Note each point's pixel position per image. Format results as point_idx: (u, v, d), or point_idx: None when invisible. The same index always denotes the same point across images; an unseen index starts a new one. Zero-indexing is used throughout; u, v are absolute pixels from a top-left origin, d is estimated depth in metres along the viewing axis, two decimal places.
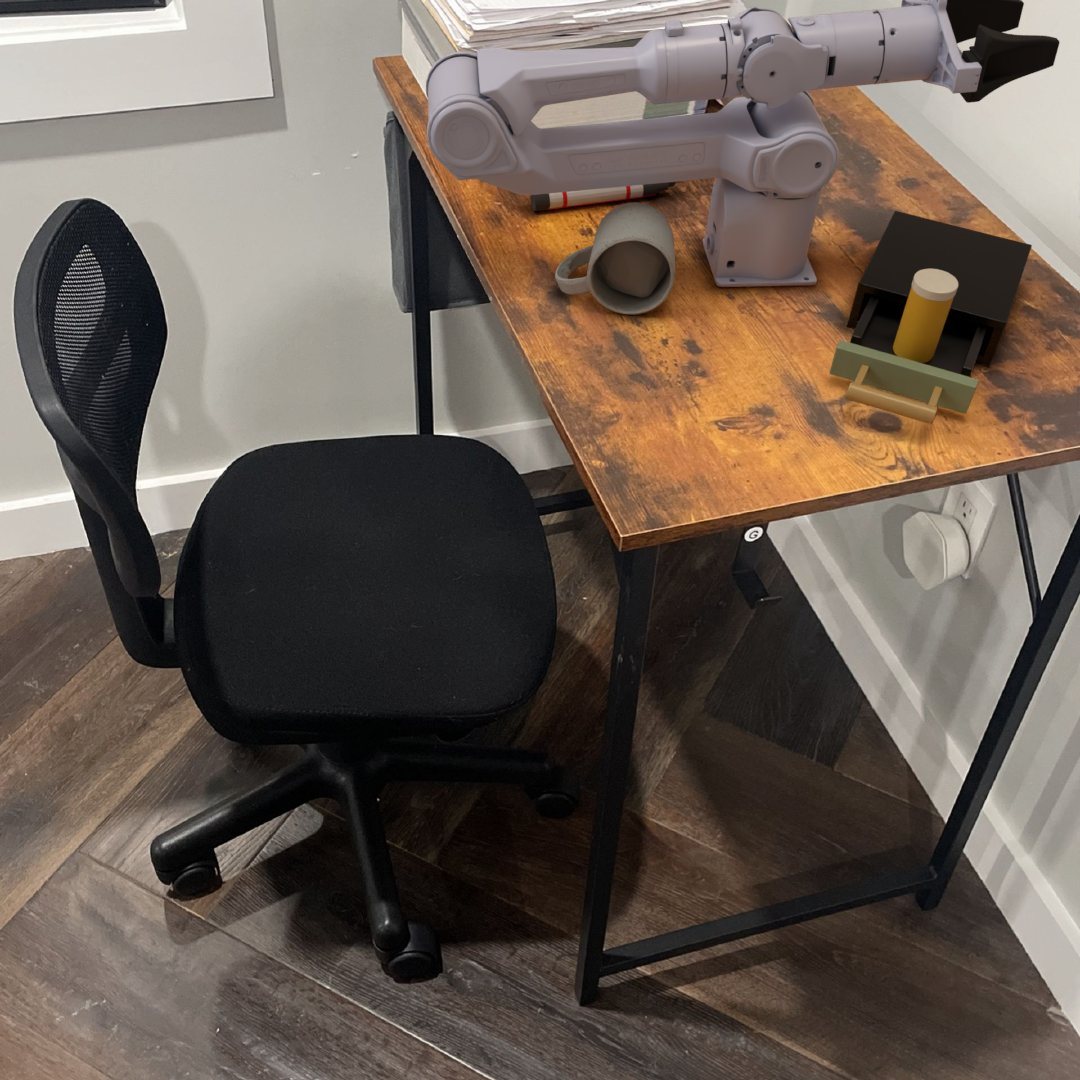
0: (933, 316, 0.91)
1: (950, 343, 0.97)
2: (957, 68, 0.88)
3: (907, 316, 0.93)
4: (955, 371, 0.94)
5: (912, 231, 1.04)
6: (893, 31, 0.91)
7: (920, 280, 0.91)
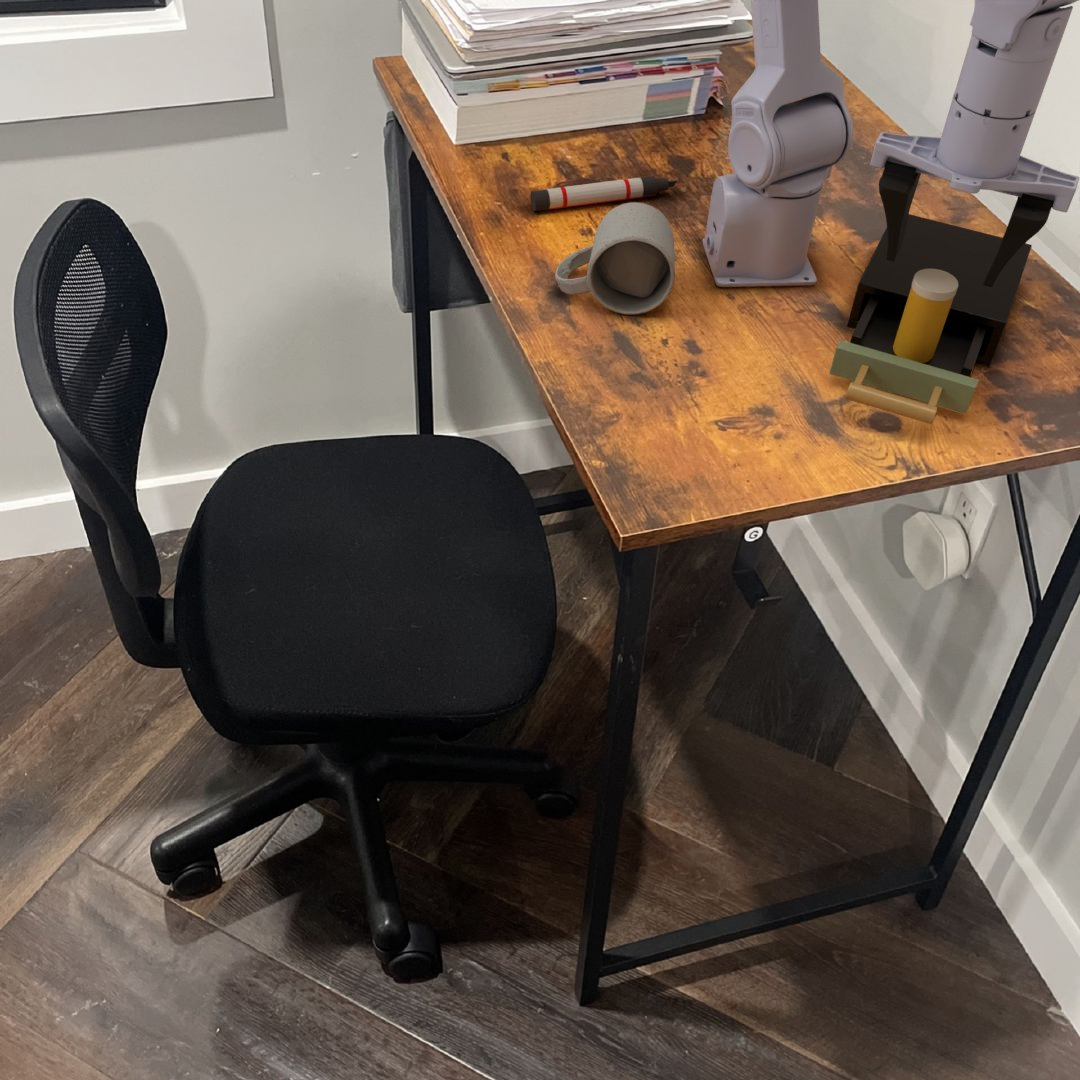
0: (933, 316, 0.91)
1: (950, 343, 0.97)
2: (878, 142, 0.85)
3: (907, 316, 0.93)
4: (955, 371, 0.94)
5: (912, 231, 1.04)
6: (961, 117, 0.80)
7: (920, 280, 0.91)
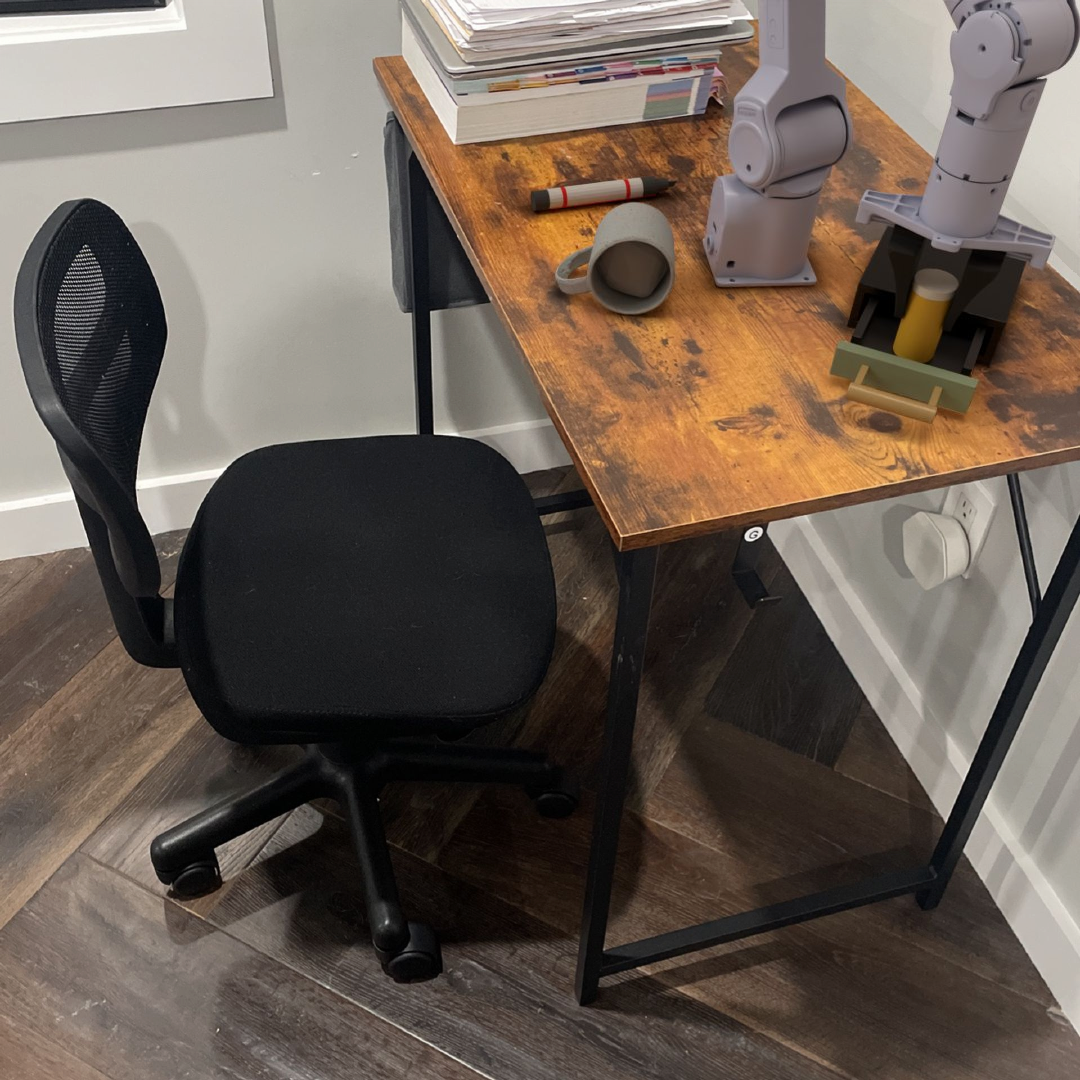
0: (934, 316, 0.91)
1: (950, 343, 0.97)
2: (863, 200, 0.88)
3: (907, 316, 0.93)
4: (955, 371, 0.94)
5: None
6: None
7: (920, 280, 0.91)
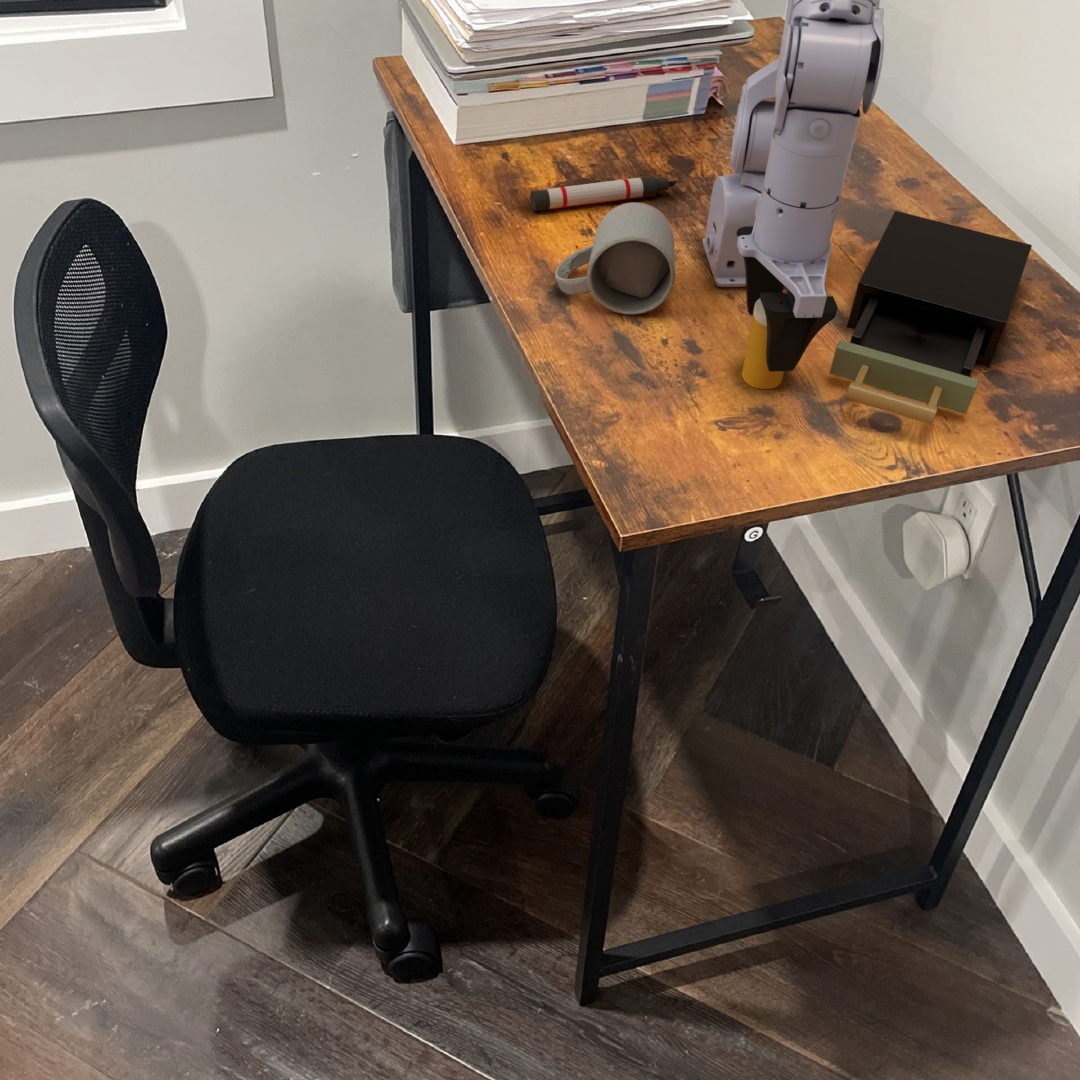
0: (755, 336, 0.92)
1: (950, 343, 0.97)
2: (759, 194, 0.92)
3: None
4: (955, 371, 0.94)
5: (912, 231, 1.04)
6: None
7: None
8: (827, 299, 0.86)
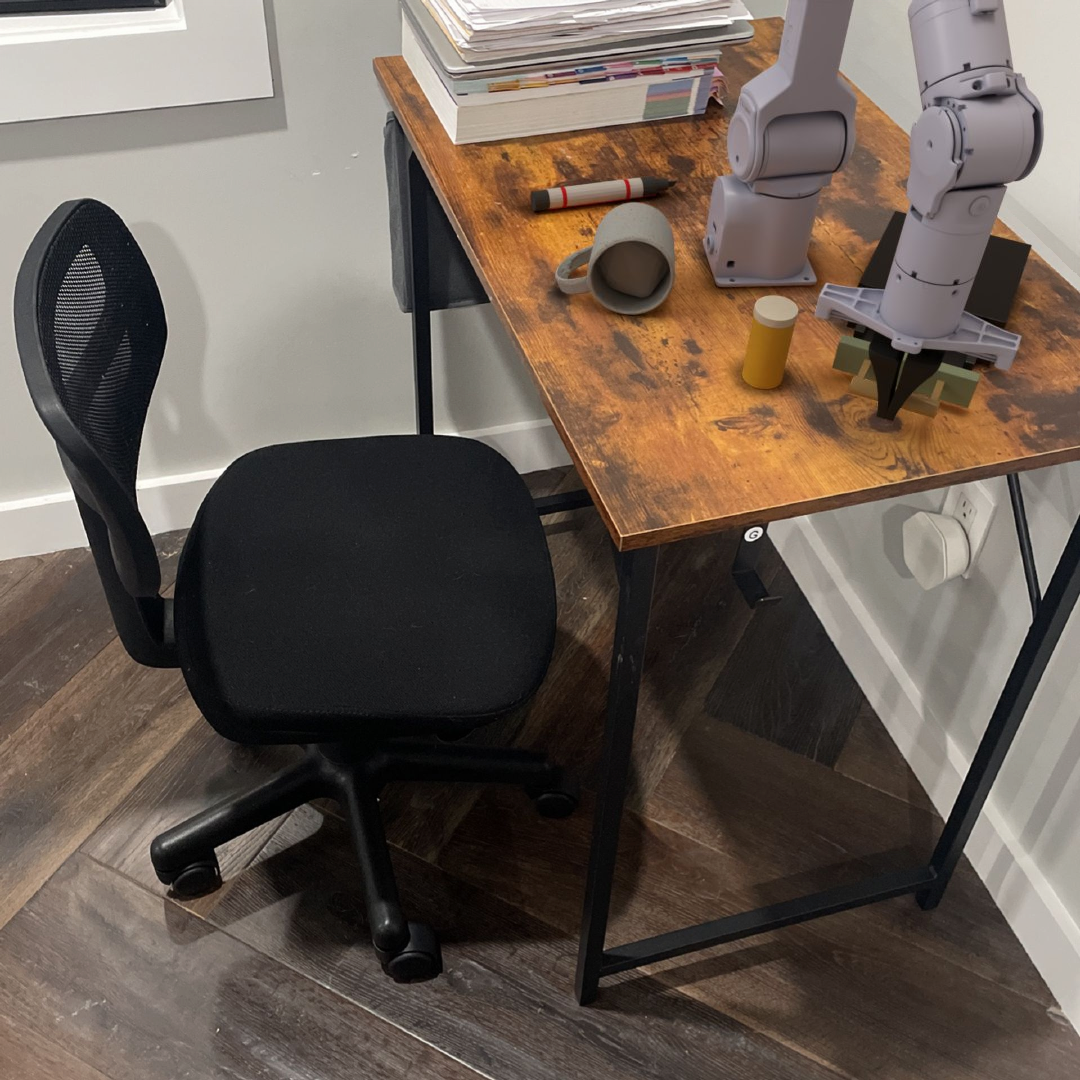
0: (755, 336, 0.92)
1: None
2: (821, 295, 0.85)
3: None
4: (957, 365, 0.95)
5: None
6: (901, 279, 0.80)
7: (765, 299, 0.92)
8: None
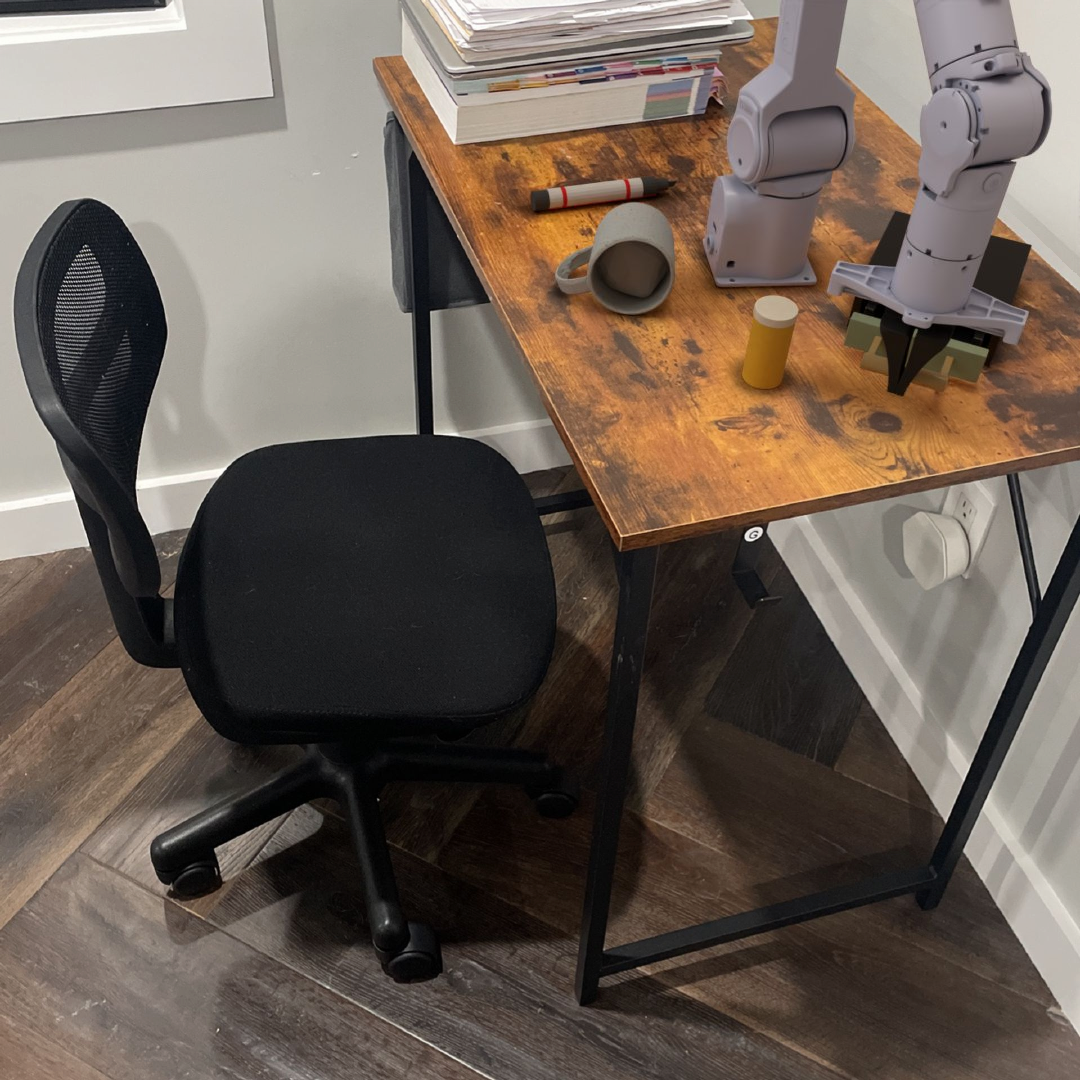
0: (755, 336, 0.92)
1: None
2: (834, 272, 0.87)
3: None
4: (966, 342, 0.97)
5: None
6: (912, 256, 0.82)
7: (765, 299, 0.92)
8: None
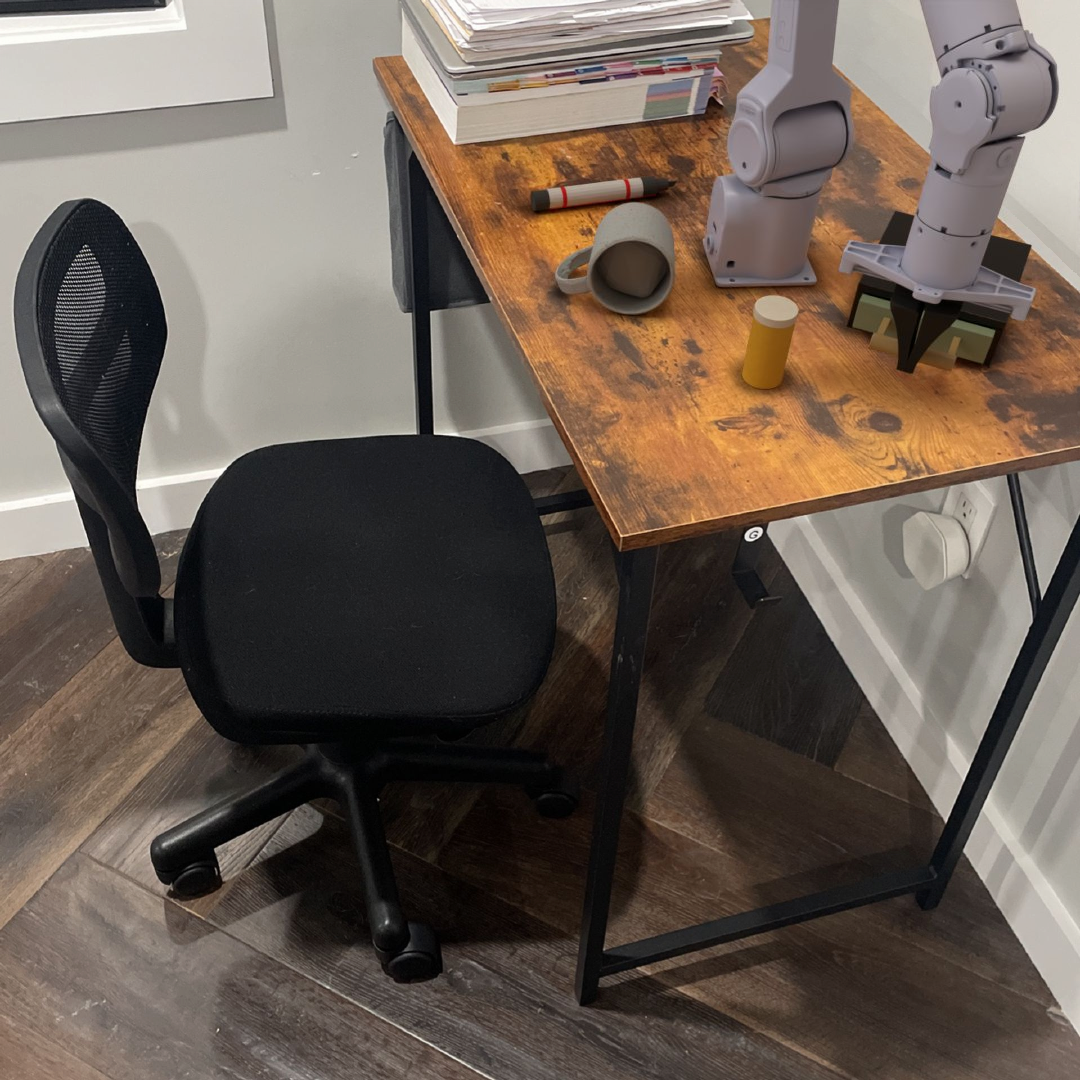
0: (755, 336, 0.92)
1: None
2: (845, 251, 0.89)
3: None
4: (972, 324, 0.99)
5: None
6: None
7: (765, 299, 0.92)
8: None
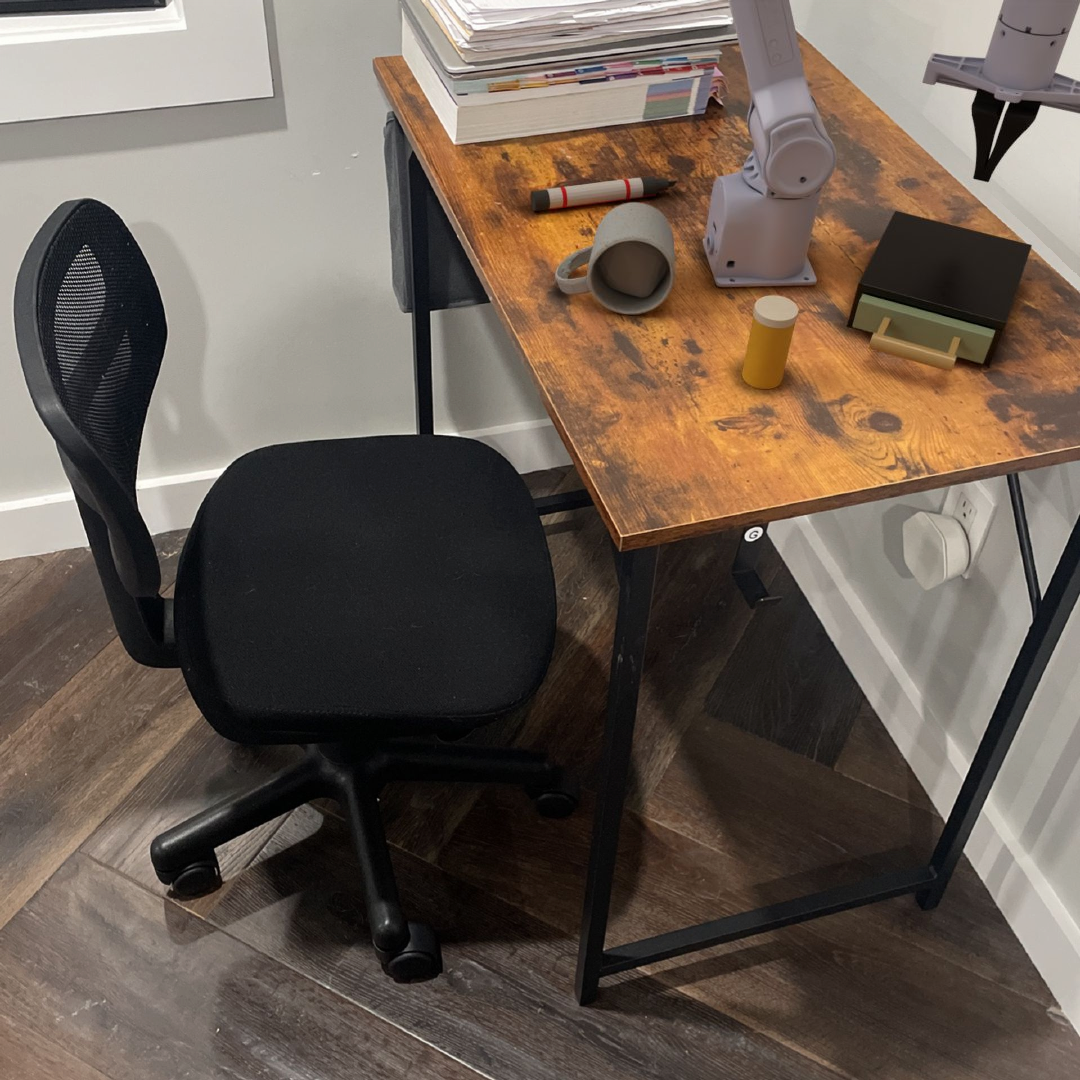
0: (755, 336, 0.92)
1: None
2: (930, 61, 0.97)
3: None
4: (972, 324, 0.99)
5: (912, 231, 1.04)
6: (1005, 35, 0.92)
7: (765, 299, 0.92)
8: None
